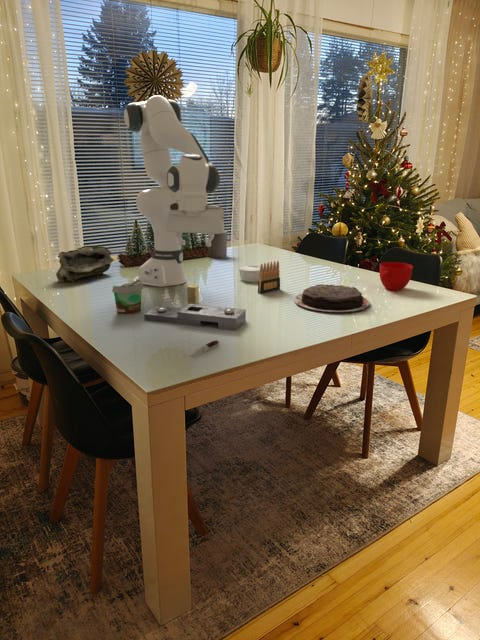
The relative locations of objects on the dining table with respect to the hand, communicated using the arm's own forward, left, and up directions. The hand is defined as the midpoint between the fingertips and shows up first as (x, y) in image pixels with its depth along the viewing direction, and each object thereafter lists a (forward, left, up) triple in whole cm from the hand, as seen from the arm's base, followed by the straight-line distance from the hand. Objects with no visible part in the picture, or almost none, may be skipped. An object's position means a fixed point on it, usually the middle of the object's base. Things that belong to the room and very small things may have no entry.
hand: (195, 246), depth 171 cm
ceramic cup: (+66, +49, -22) cm, 85 cm away
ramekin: (+7, +46, -23) cm, 52 cm away
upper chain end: (+11, -14, -22) cm, 28 cm away
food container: (-19, -12, -22) cm, 32 cm away
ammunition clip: (+19, +30, -22) cm, 42 cm away
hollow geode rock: (-62, +25, -23) cm, 71 cm away
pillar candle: (-24, +88, -22) cm, 94 cm away
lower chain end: (-1, -14, -22) cm, 26 cm away
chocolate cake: (+45, +22, -23) cm, 55 cm away
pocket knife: (+18, -38, -23) cm, 48 cm away
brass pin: (-1, -1, -22) cm, 22 cm away
